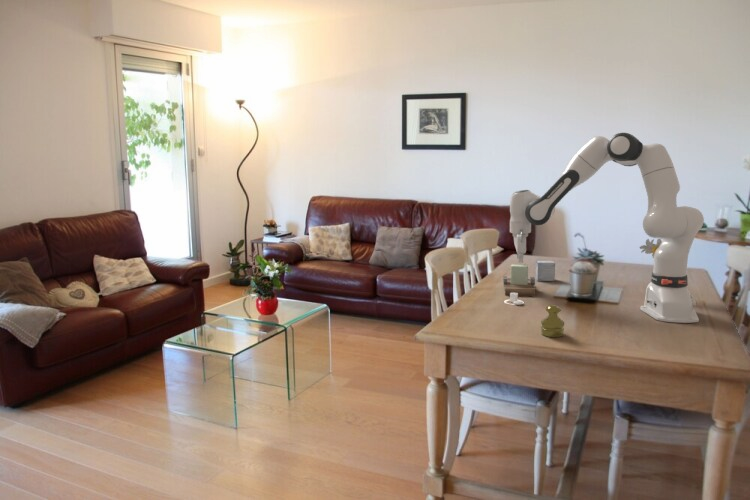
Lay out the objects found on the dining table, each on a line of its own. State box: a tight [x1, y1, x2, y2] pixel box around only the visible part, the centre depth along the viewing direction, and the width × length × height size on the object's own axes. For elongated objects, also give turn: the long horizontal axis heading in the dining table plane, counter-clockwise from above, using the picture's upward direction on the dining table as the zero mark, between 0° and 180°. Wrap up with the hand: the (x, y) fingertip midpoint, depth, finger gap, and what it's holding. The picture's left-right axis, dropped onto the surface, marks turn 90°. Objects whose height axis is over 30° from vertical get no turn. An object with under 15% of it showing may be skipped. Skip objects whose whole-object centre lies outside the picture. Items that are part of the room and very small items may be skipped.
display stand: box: [502, 275, 536, 297], centre depth 250 cm, size 18×13×6 cm
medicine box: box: [535, 260, 556, 282], centre depth 267 cm, size 8×4×9 cm, turn 84°
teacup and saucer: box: [503, 292, 525, 306], centre depth 232 cm, size 9×8×4 cm
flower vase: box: [639, 238, 663, 288], centre depth 234 cm, size 12×18×24 cm
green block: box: [510, 264, 529, 285], centre depth 249 cm, size 4×7×8 cm, turn 79°
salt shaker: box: [540, 304, 565, 338], centre depth 193 cm, size 7×7×10 cm
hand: (519, 260), depth 248 cm, fingers open, 8 cm apart
